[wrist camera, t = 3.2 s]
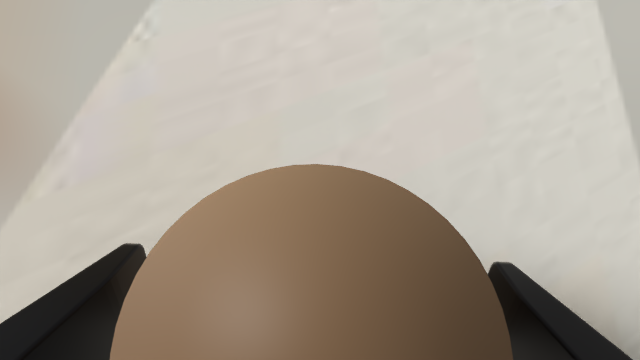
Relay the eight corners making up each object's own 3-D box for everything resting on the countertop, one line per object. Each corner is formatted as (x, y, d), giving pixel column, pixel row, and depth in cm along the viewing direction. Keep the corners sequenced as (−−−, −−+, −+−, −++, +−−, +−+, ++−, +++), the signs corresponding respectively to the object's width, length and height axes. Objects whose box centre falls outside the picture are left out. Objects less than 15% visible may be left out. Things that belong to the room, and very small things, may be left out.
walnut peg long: (367, 328, 16) (558, 575, 3) (274, 339, 16) (102, 638, 3) (355, 235, 17) (470, 147, 4) (267, 245, 17) (111, 183, 4)
